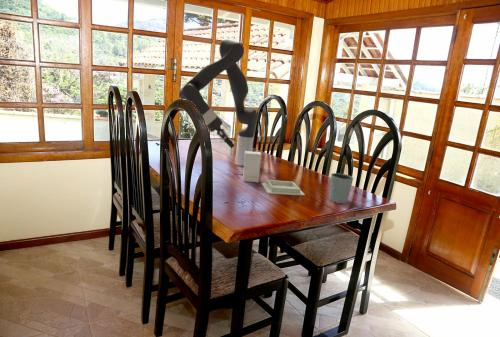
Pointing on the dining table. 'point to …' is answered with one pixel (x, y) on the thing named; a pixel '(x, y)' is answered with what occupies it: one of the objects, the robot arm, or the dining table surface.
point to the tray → (282, 187)
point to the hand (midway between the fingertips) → (231, 145)
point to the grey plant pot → (340, 187)
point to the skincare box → (251, 166)
